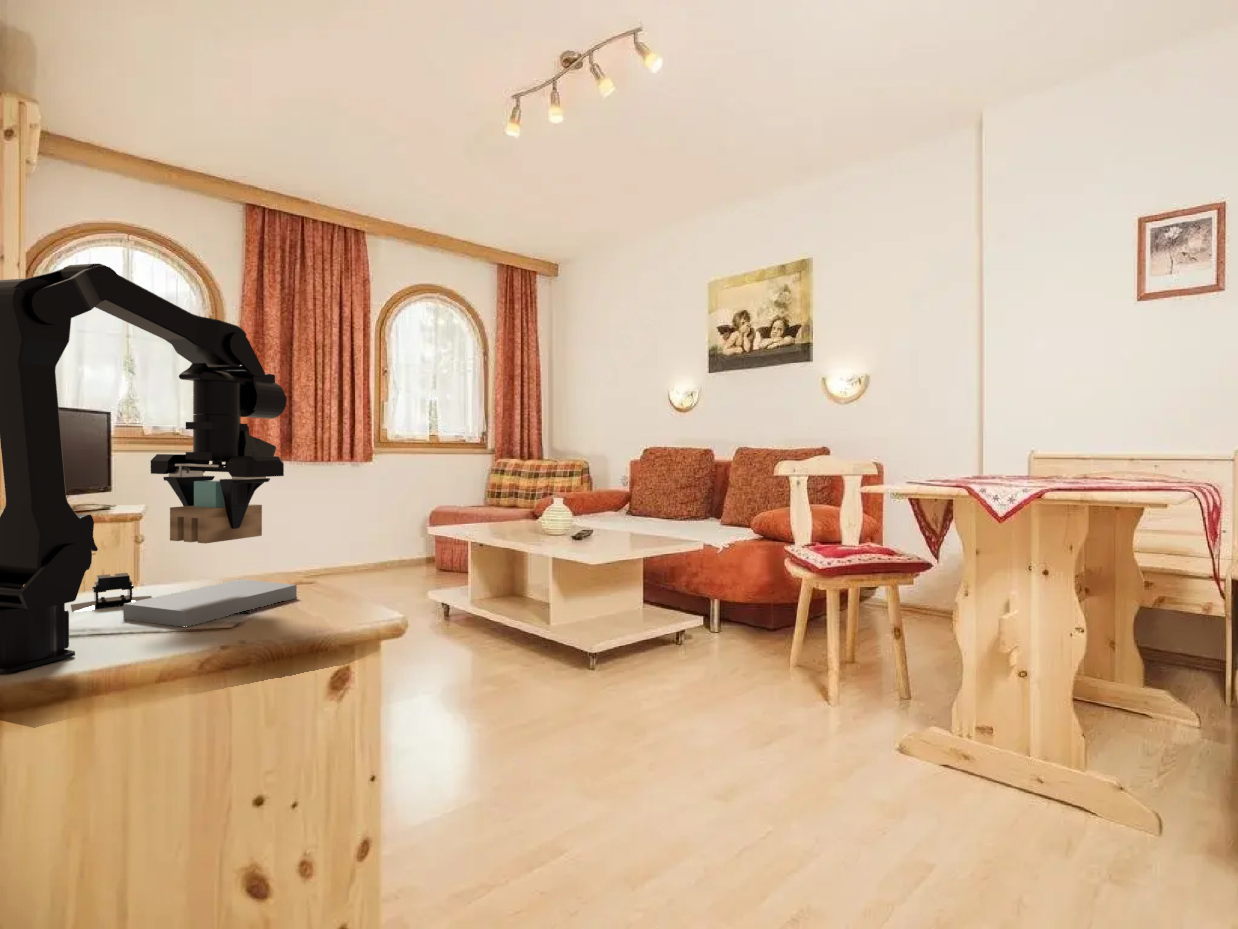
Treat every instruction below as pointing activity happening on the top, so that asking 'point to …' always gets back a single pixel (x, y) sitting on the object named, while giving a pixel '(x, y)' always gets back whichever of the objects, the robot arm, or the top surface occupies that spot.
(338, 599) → the top surface
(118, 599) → the black open frame block
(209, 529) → the wooden slotted block
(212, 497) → the teal cube
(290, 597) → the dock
